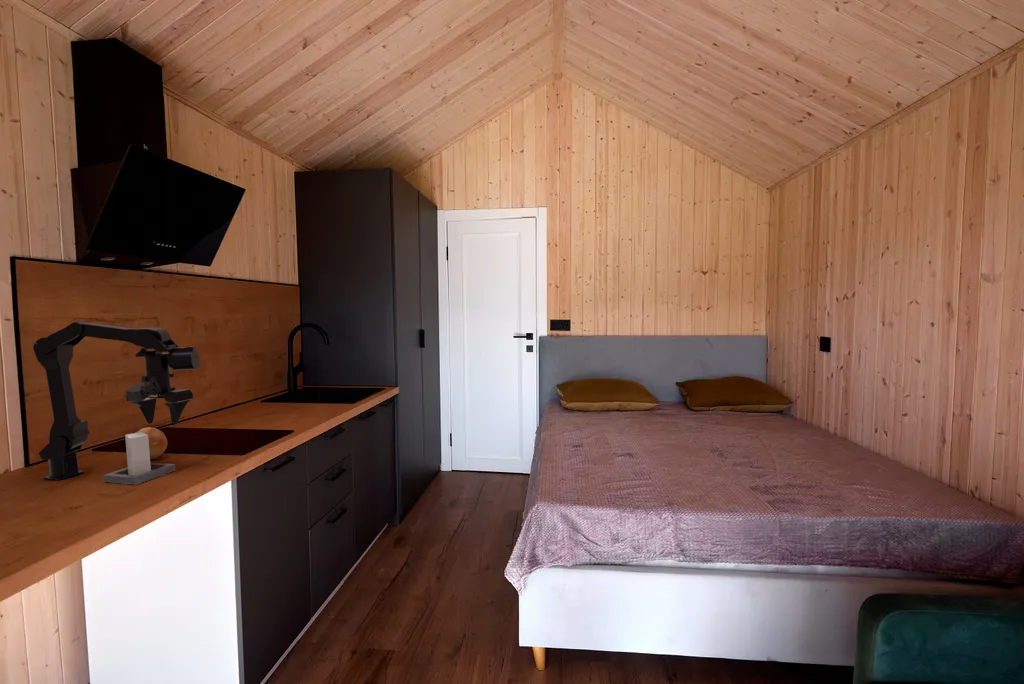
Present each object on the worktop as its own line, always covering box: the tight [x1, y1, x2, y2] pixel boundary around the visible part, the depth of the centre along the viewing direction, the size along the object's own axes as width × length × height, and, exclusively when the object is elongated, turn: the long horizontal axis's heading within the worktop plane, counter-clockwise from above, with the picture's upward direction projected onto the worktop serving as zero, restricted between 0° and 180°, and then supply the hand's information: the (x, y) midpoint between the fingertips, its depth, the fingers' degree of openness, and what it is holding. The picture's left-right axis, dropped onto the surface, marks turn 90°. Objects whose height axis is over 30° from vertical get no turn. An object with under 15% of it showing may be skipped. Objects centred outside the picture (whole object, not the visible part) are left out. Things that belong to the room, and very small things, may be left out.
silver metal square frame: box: [102, 461, 176, 486], centre depth 137 cm, size 11×11×2 cm
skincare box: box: [124, 432, 151, 476], centre depth 137 cm, size 6×4×12 cm
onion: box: [135, 427, 168, 460], centre depth 153 cm, size 10×10×10 cm
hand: (162, 424), depth 144 cm, fingers open, 9 cm apart
